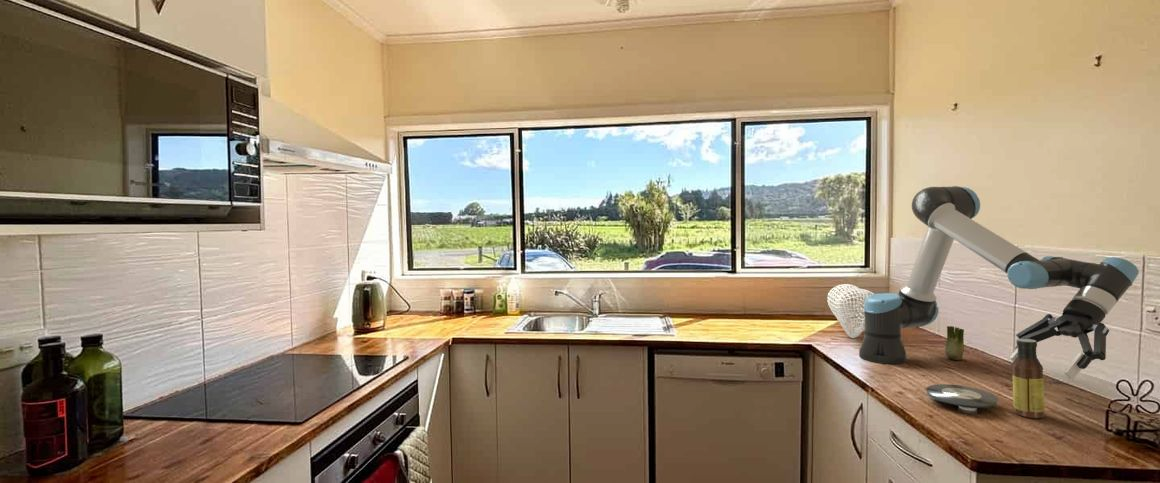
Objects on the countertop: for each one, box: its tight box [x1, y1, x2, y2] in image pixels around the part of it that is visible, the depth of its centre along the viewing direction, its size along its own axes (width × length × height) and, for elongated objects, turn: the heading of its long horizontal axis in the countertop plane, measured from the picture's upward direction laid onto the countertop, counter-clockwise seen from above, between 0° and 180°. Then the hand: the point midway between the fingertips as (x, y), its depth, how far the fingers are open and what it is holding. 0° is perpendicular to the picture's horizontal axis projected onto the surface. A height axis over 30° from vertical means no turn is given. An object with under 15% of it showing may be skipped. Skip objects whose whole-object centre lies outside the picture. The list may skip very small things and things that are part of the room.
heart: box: [826, 283, 875, 339], centre depth 221 cm, size 28×16×22 cm, turn 172°
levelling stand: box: [926, 383, 999, 415], centre depth 144 cm, size 16×16×3 cm
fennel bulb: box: [944, 325, 965, 361], centre depth 187 cm, size 6×5×12 cm
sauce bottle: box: [1011, 338, 1046, 419], centre depth 135 cm, size 6×6×20 cm
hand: (1039, 368), depth 135 cm, fingers open, 13 cm apart
